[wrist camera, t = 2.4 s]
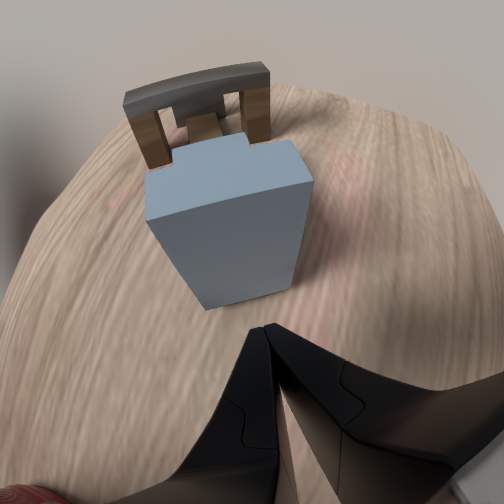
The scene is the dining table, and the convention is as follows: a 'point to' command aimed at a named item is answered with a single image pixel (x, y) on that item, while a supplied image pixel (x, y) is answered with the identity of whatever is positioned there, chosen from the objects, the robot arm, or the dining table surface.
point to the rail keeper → (199, 107)
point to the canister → (28, 495)
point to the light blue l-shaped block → (231, 216)
